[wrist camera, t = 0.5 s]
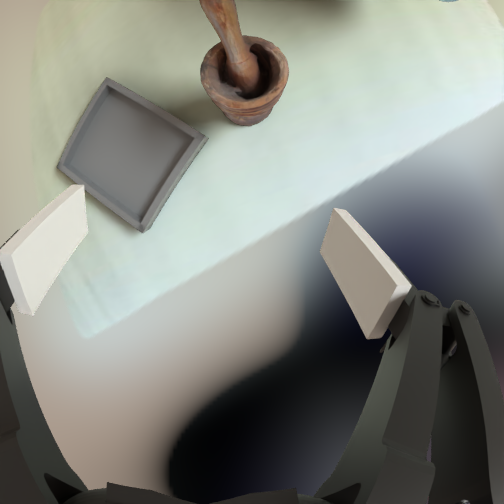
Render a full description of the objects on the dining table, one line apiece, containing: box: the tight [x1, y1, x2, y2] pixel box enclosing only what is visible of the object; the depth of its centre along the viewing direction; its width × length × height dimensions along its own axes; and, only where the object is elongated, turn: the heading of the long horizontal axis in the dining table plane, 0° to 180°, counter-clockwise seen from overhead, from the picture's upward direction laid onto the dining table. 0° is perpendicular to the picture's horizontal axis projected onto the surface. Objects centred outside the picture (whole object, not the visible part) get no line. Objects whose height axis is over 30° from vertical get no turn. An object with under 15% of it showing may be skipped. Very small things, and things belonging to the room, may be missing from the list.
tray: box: [57, 77, 209, 233], centre depth 35 cm, size 16×19×3 cm
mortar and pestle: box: [200, 0, 289, 126], centre depth 25 cm, size 12×9×20 cm
